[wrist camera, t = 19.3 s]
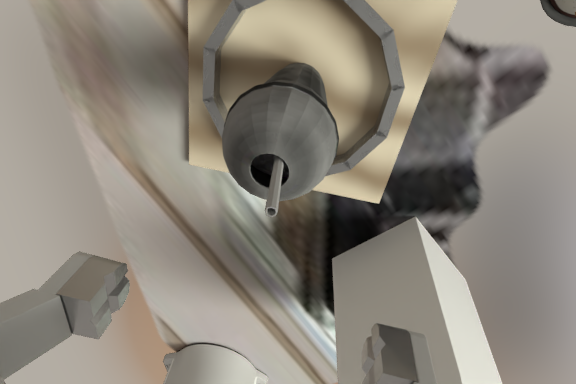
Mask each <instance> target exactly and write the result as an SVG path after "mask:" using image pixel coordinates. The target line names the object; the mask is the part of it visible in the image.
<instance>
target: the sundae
mask: <svg viewBox="0 0 576 384" xmlns="http://www.w3.org/2000/svg"><path fill="white" fill-rule="evenodd" d="M540 1H541V4H542V8H543V10H544V11H545V12H546V14H547V15H548V16H549V17H550V18H551V19H553V20H554V21H556V22H558V23H561V24H564V25H567V26H574V27H576V0H540Z"/></svg>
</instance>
